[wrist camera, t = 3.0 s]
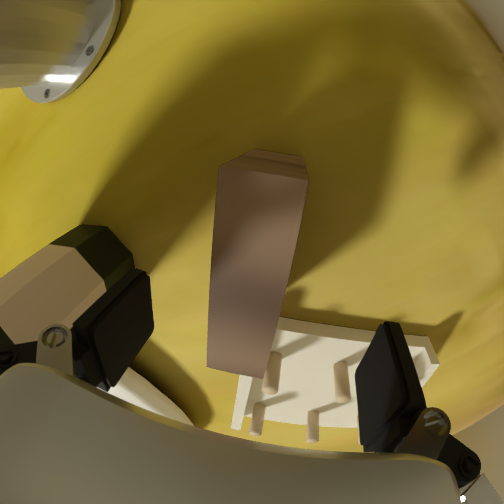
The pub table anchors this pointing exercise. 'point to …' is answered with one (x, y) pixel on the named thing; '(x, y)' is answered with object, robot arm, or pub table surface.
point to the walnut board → (252, 256)
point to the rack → (315, 377)
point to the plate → (146, 396)
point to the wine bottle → (60, 282)
